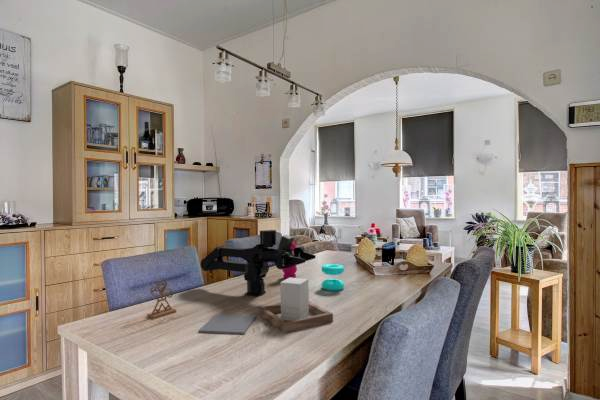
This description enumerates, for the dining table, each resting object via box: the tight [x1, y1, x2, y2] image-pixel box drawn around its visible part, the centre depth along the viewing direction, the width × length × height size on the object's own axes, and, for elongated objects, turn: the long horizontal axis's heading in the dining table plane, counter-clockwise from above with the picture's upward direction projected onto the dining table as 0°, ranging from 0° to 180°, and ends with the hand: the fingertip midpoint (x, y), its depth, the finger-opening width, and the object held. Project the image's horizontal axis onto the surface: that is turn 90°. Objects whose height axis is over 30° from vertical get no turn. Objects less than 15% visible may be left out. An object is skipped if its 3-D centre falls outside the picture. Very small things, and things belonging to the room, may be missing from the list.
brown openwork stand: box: [146, 279, 177, 320], centre depth 118 cm, size 9×4×12 cm, turn 143°
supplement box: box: [279, 277, 310, 322], centre depth 114 cm, size 7×7×13 cm
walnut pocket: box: [258, 301, 334, 334], centre depth 114 cm, size 18×18×2 cm
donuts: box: [321, 263, 345, 291], centre depth 151 cm, size 10×10×10 cm
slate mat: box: [198, 313, 257, 335], centre depth 108 cm, size 14×14×1 cm
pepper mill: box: [281, 241, 298, 280], centre depth 169 cm, size 7×7×20 cm
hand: (310, 258), depth 131 cm, fingers open, 9 cm apart
